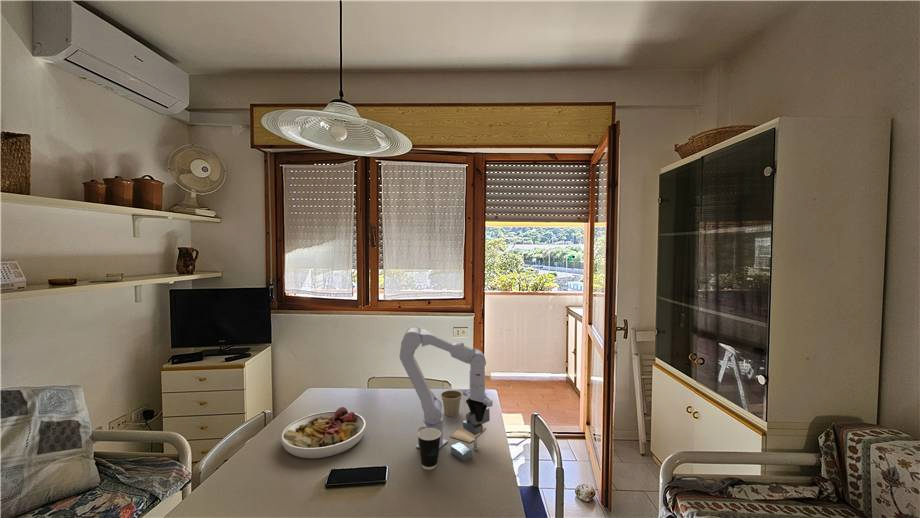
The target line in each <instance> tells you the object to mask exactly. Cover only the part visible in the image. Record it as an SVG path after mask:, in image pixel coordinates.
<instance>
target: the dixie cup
mask: <svg viewBox="0 0 920 518" xmlns="http://www.w3.org/2000/svg"><path fill="white" fill-rule="evenodd" d="M440 436H441V432H440V430H438V429H435V428H425V429H422V430H420V431H419V432H418V431H417V438H418V437H419V446H420V448H419V452H420V453H419V454H420V463H421V465H422V467H421V468H423V469H424V470H428V471H429V470H433V469H436V467H437V464H438V460H439V453H440V448H439V443H440Z"/></svg>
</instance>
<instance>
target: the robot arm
mask: <svg viewBox="0 0 920 518" xmlns="http://www.w3.org/2000/svg"><path fill="white" fill-rule="evenodd" d="M400 342H401V343H400V351H399V360H400V362H401V363H402V366H403V367H404V370H405V372H406V373H407V376H408V378H409V380H410V382H411V384H412V386H413V388H414V390H415V392H416V394H417V396H418V399H419V400H420V405H421V409H422V411H423V423H422V424H421V426H420V427H419V429H418V430H417V433H418V432H419V431H420V430H422V429H425V428H435V429H438V430H440V432H441V436H440V443H439V449H440V448H442V447H443V446H445V445H446V444H447V443H448V442H449V441H448V440H447V439H444V418H443V416H442V406H443V405H442V404H443V403H442V402H441V400H440V399H439V398H437V397H436V395H435V394H434V392H432V390H431V388H430V386H429V384H428V382H427V379H426V377H425V376H424V374H423V372H422V369H421V368H420V366H419V363H418V362H417V359H416V357H415V356H414V355H415V352H416V350H417V349H418V348H419V346H420V345H421V347H426V346H433V347H435V348H439V349H440V350H443V351H446V352H448V353H449V354H450V356H451V358H453V359H456V360H458V361H461V362H462V363H465V364H469V365H470V367H469V369H470V370H469V389H467V388H466V389H463V390H462V396H466V397H468V399H466V400H465V403H466V404H467V406H468V409H469V412H471V411H474V410H476V416H477V422H480V421H482V420H483V416H484V413H485V410H486V408H487V407H488V408H491V407H493V405H494V404H493V400H492V399H491V398H489V397H488V396H487V393H486V371H485V370H486V368H485V367H486V366H487V365H486V364H487V361H486V357H485V355H484V352H483V351H481V350H480V349H478V348H475V347H473V348H472V347H470V346H468V345H465V343H464V342H461V341H460V342H458V341H457V342H454V343H452V342H451V341H448V340H446V339H444V338H442V337H440V336H438V335H436V334H434V333H432V332H430V331H428V330H426V329H424V328H420V327H418V326H410V327H409V328H408V329H407V330H406V332H405V333H404V335H403V338H402V341H400ZM415 447H416V448H418V449H420V446H419V437H418V436H417V444H416V446H415Z"/></svg>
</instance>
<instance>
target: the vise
mask: <svg viewBox="0 0 920 518" xmlns="http://www.w3.org/2000/svg"><path fill="white" fill-rule="evenodd" d="M478 449H479V448H478V439H477V438H475V439H474V440H473V447H472V449H471V448H469V447H468V446H466V445H465V444H463V443H462V442H460V441H459V442H456V443H454V444H452V445H450V453H451V454H452V455H453V456H455V457H457V458H458V459H459V460H461V462H465V461H469V460H470V459H472V458H473V451H477V450H478Z"/></svg>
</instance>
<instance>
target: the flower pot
mask: <svg viewBox="0 0 920 518" xmlns="http://www.w3.org/2000/svg"><path fill="white" fill-rule="evenodd" d="M440 397H441V400H442V404H443V405H442V406H443V410H444V411H443V412H444V415H445V416H447V417H455V416H456V417H457V416H458V415H459V413H460V406H461V404H460V403H461V400H462V397H463V392H461V391H459V390H454V389H453V390H449V389H448V390H445V391H442V392H441V393H440Z"/></svg>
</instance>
